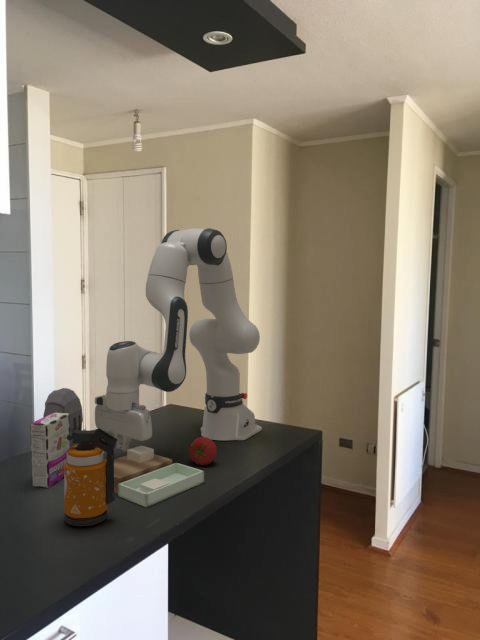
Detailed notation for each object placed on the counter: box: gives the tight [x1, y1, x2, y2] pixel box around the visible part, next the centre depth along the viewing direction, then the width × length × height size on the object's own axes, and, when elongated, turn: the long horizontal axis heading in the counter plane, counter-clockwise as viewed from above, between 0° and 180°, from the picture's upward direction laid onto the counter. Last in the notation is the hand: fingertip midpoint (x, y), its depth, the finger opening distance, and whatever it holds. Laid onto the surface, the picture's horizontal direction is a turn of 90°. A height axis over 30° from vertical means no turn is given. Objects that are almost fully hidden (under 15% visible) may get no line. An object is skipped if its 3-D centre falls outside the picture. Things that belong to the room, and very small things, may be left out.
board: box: [114, 453, 173, 495], centre depth 143 cm, size 18×12×4 cm, turn 142°
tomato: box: [188, 436, 218, 466], centre depth 155 cm, size 8×8×8 cm
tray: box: [117, 462, 205, 508], centre depth 137 cm, size 20×10×3 cm, turn 142°
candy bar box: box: [29, 413, 70, 489], centre depth 141 cm, size 11×5×16 cm, turn 168°
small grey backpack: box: [42, 387, 84, 448], centre depth 160 cm, size 15×8×20 cm, turn 170°
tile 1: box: [140, 479, 169, 493], centre depth 132 cm, size 5×5×2 cm
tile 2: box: [126, 445, 155, 463], centre depth 147 cm, size 5×5×2 cm
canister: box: [63, 428, 118, 527], centre depth 118 cm, size 9×11×20 cm
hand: (123, 449), depth 151 cm, fingers closed
